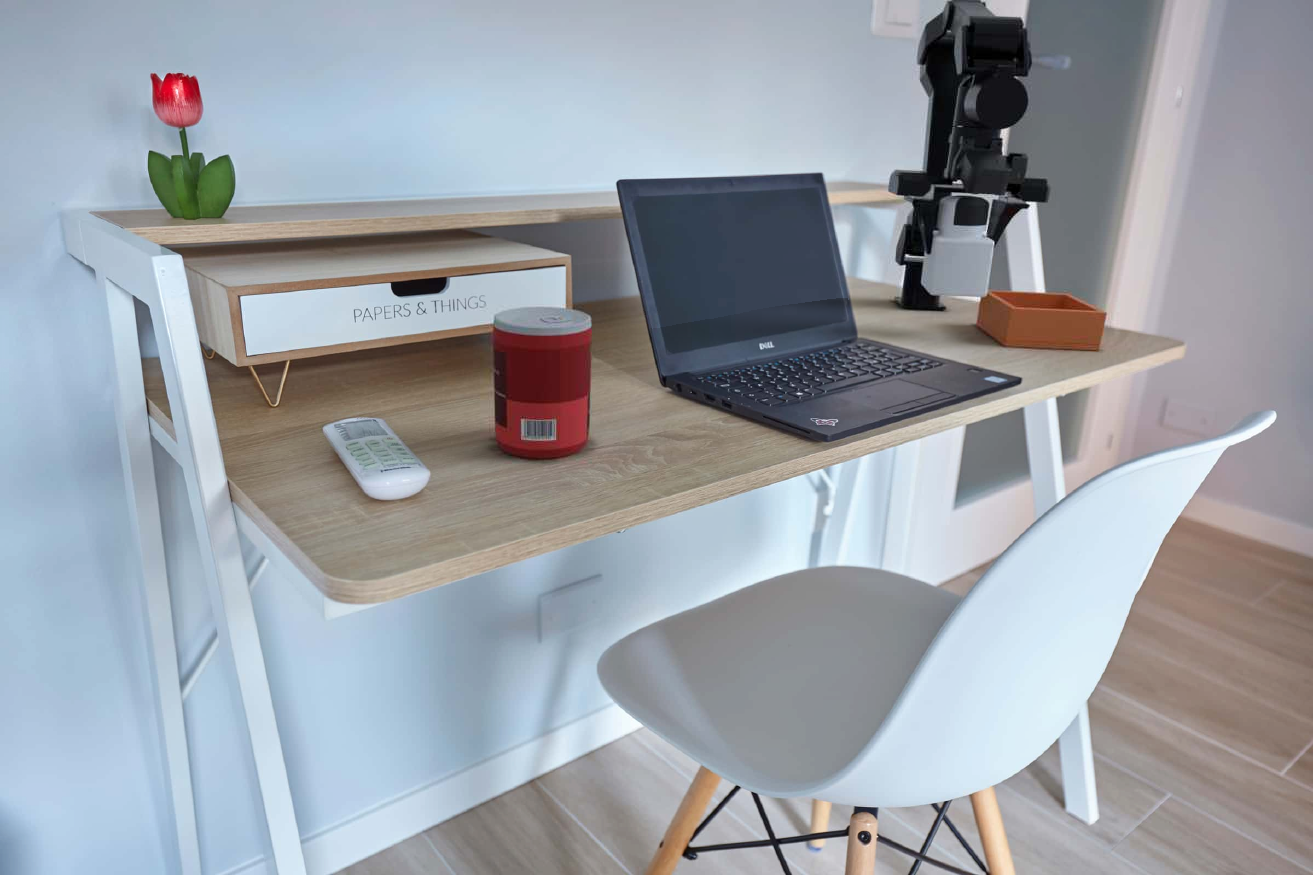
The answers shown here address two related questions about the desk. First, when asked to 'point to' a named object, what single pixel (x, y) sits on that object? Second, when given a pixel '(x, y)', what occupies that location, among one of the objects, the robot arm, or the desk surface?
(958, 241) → the medicine bottle
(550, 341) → the canned food
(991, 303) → the bin
